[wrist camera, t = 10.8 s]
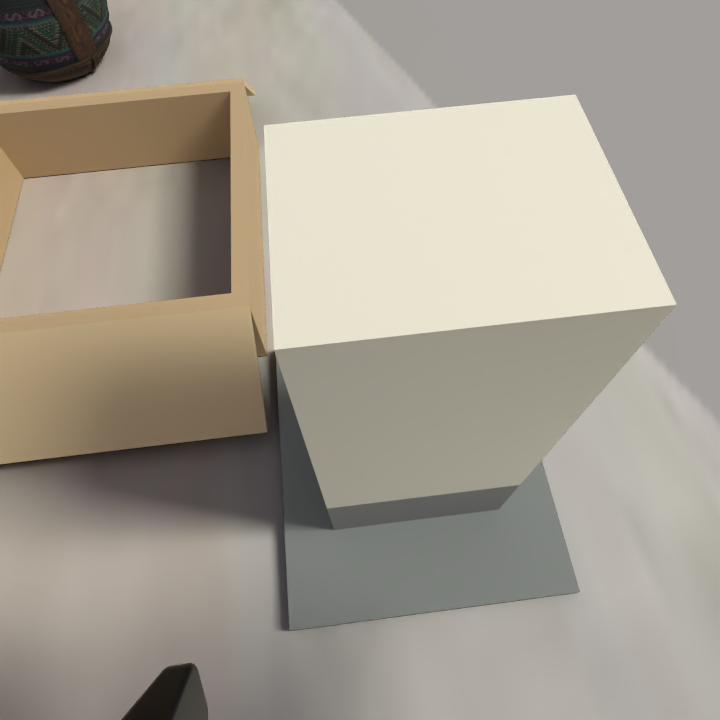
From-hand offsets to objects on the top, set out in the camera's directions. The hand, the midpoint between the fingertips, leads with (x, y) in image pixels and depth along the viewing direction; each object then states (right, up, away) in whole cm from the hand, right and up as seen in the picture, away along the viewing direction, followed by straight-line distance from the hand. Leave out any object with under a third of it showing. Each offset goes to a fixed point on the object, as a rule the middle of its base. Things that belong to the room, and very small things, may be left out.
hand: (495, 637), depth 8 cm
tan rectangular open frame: (-13, +9, +16) cm, 22 cm away
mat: (0, +1, +11) cm, 11 cm away
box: (0, +1, +11) cm, 11 cm away
